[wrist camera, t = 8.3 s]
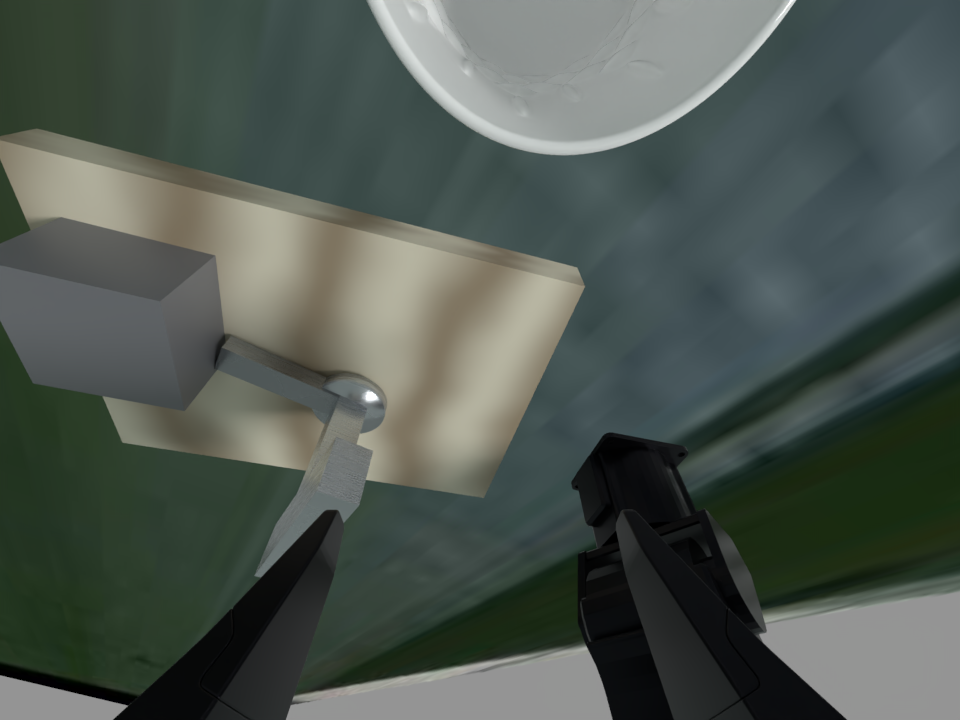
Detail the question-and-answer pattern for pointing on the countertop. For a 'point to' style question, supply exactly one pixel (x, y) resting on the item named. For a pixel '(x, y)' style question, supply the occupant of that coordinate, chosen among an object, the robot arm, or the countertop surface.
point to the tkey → (337, 456)
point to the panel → (324, 313)
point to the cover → (111, 312)
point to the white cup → (573, 62)
